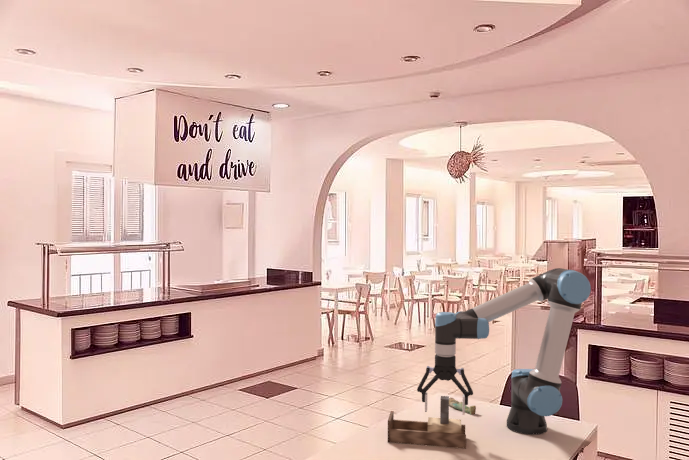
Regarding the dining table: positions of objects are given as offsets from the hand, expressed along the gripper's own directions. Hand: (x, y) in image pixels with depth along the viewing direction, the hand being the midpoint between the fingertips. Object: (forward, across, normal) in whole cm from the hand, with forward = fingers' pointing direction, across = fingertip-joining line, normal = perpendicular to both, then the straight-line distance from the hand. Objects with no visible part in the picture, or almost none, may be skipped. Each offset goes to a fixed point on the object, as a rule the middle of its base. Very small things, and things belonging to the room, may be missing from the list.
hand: (444, 412), depth 206 cm
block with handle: (+10, 0, 0) cm, 10 cm away
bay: (+11, +6, 0) cm, 12 cm away
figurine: (+11, -7, -39) cm, 41 cm away
